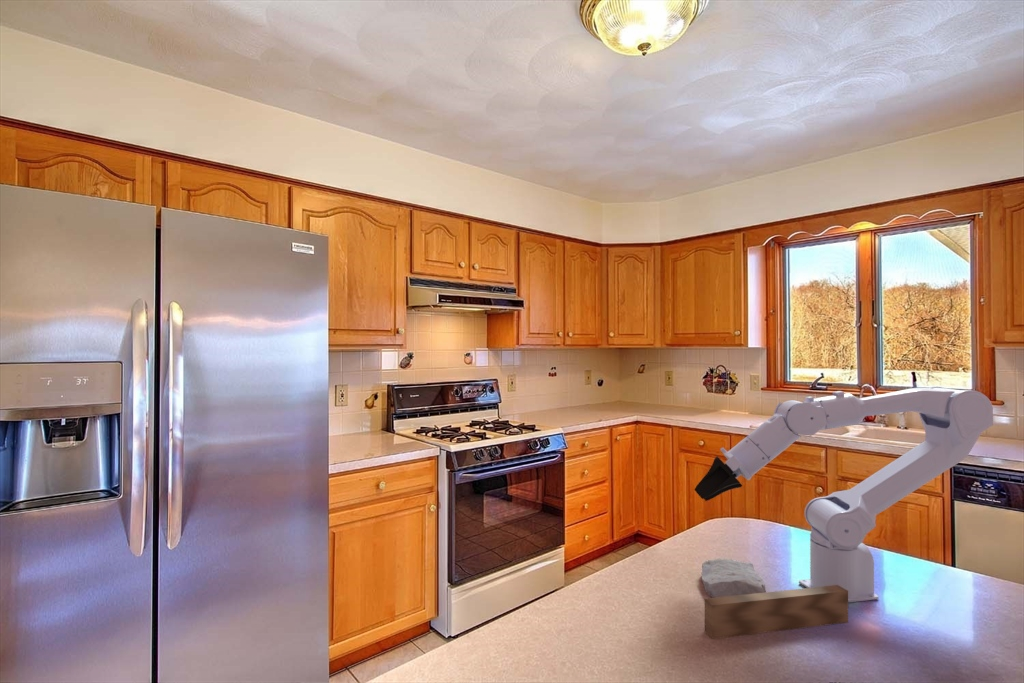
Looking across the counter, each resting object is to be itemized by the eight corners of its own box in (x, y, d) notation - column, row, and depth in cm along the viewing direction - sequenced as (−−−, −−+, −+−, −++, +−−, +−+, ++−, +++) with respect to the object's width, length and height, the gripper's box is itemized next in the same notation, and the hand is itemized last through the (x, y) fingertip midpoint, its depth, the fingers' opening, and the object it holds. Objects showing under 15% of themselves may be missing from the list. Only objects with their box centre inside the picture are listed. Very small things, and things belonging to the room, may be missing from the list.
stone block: (711, 613, 85) (773, 608, 84) (705, 584, 86) (766, 578, 84) (699, 584, 97) (753, 578, 95) (694, 559, 98) (748, 553, 96)
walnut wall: (837, 615, 81) (837, 585, 81) (848, 622, 79) (848, 590, 79) (704, 631, 77) (704, 598, 77) (712, 638, 75) (712, 605, 75)
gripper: (742, 438, 100) (689, 481, 101) (740, 425, 87) (680, 474, 89) (770, 466, 96) (715, 510, 98) (772, 457, 84) (709, 508, 85)
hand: (700, 495), depth 93 cm, fingers open, 7 cm apart
